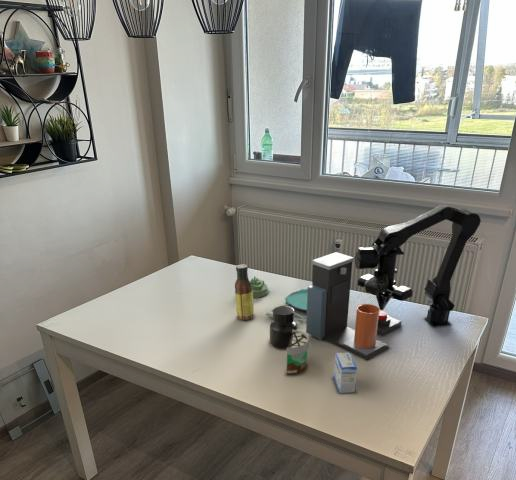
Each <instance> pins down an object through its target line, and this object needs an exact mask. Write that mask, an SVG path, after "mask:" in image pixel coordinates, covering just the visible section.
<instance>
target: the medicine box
mask: <svg viewBox="0 0 516 480" xmlns="http://www.w3.org/2000/svg"><path fill="white" fill-rule="evenodd" d="M357 373H358V366H357V364H356V363H355V360H354V358H353V356H352V354H351V352H338V353H335V358H334V369H333V380H334V382H335V385H336V387H337V389H338V392H339V393H340V394H350V393H355V392H356V391H355V390H356V385H357V384H356V383H357Z"/></svg>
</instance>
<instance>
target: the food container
mask: <svg viewBox="0 0 516 480" xmlns="http://www.w3.org/2000/svg"><path fill="white" fill-rule="evenodd" d="M310 347H311V341H310V338H309V336H308V335H307V333H306V332H303V331H301V330H298V329H297V330H292V336H291V339H290V343H289V346H288V348H286V353H285V355H286V376H295V375H299V374H302V373H303V372H304V371H305V370H306V365H307V358H308V357H307V356H308V350H309V349H310Z"/></svg>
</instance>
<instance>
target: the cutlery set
mask: <svg viewBox="0 0 516 480" xmlns="http://www.w3.org/2000/svg"><path fill="white" fill-rule="evenodd" d="M307 293H308V288H302V289H299V290H297V291H293V292H292V293H289V294H288V295H287V296H285V299H284V300H285V305H288V306H289V307H291V308H293V309H294V310H298V311H301V312H307ZM271 312H272V313H269V312H267V313H265V314H264V315H265V316H267V317H269V318H271V319H273V309H271ZM297 316H298V317H299V318H297ZM301 318H303V319H301ZM304 319H305V320H307V317H305V316H303V315H301V314H298V313H297V312H294V321H297V322H299V323H304ZM295 323H296V322H295ZM296 325H297V326H298V323H296Z"/></svg>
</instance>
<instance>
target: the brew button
mask: <svg viewBox="0 0 516 480" xmlns="http://www.w3.org/2000/svg"><path fill="white" fill-rule="evenodd" d="M387 315H388V313H387V312H386V311H384V310H379V318H378V320H386V318H387Z"/></svg>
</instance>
